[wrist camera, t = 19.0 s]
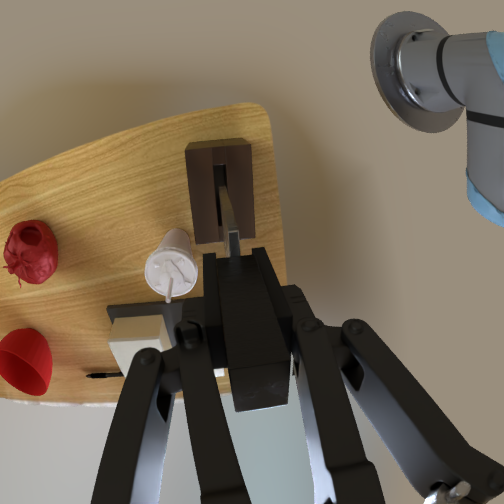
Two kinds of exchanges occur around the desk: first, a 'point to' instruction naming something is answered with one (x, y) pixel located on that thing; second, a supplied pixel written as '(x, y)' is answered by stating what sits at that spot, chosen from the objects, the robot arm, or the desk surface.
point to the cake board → (151, 313)
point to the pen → (104, 375)
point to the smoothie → (172, 266)
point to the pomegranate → (31, 252)
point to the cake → (137, 337)
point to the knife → (249, 325)
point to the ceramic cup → (26, 361)
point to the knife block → (220, 174)
